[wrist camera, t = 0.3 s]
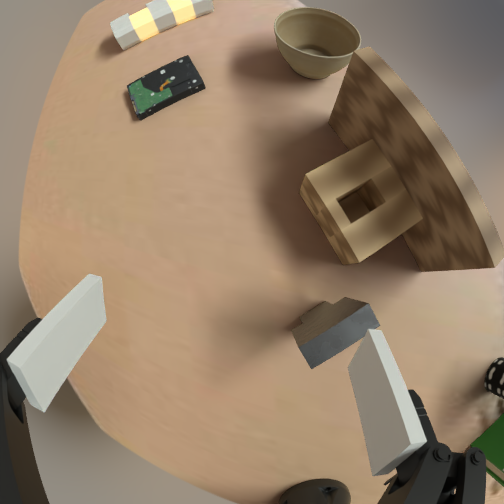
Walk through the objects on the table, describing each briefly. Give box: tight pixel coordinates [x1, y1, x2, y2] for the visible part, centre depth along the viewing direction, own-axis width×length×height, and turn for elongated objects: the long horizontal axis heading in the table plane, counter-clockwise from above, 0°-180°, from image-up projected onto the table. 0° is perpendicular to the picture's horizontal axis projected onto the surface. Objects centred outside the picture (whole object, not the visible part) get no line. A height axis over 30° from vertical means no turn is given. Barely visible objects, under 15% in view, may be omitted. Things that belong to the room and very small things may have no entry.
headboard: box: [299, 47, 504, 272], centre depth 36 cm, size 32×16×20 cm, turn 30°
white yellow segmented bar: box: [110, 0, 214, 50], centre depth 46 cm, size 25×10×13 cm, turn 115°
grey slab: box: [291, 297, 380, 369], centre depth 37 cm, size 3×9×16 cm, turn 120°
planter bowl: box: [274, 7, 361, 79], centre depth 43 cm, size 16×16×11 cm
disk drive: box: [127, 55, 205, 120], centre depth 49 cm, size 10×3×15 cm
